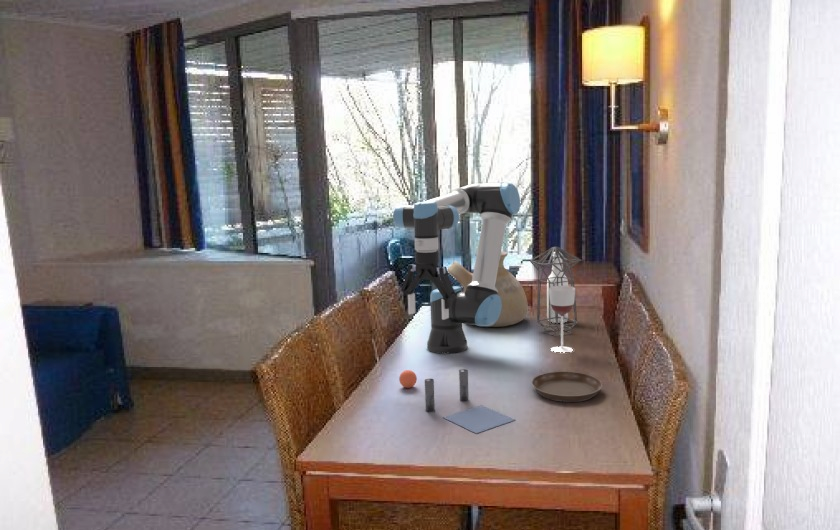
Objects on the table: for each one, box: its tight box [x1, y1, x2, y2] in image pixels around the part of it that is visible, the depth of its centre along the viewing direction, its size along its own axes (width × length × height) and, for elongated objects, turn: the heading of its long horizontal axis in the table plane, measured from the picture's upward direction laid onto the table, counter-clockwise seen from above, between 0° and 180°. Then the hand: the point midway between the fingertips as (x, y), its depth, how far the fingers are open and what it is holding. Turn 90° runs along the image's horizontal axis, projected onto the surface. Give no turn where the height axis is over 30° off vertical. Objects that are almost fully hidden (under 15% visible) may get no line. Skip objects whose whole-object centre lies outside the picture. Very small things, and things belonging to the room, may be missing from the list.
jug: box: [447, 250, 529, 328], centre depth 288 cm, size 29×34×30 cm
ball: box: [398, 369, 418, 389], centre depth 211 cm, size 6×6×6 cm
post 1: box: [424, 378, 436, 413], centre depth 191 cm, size 3×3×9 cm
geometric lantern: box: [530, 246, 583, 337], centre depth 266 cm, size 16×16×35 cm
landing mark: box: [443, 404, 516, 435], centre depth 184 cm, size 14×14×1 cm
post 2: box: [458, 369, 469, 402], centre depth 198 cm, size 3×3×9 cm
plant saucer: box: [531, 371, 603, 403], centre depth 202 cm, size 21×21×3 cm
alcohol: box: [546, 251, 569, 324], centre depth 285 cm, size 9×9×30 cm
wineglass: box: [549, 285, 576, 354], centre depth 244 cm, size 9×10×23 cm
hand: (428, 316), depth 216 cm, fingers open, 13 cm apart
